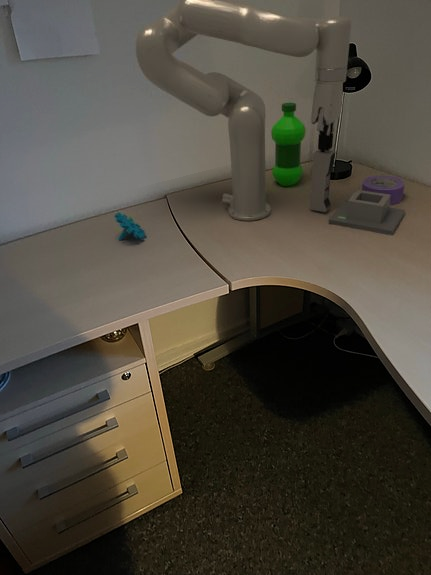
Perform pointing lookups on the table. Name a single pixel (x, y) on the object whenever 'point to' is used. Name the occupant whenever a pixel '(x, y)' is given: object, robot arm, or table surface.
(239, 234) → the table surface
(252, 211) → the robot arm
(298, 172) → the plastic bottle
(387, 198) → the charging dock
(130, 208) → the table surface
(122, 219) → the teal bumpy irregular piece
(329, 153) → the vintage mobile phone
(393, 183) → the tape roll
